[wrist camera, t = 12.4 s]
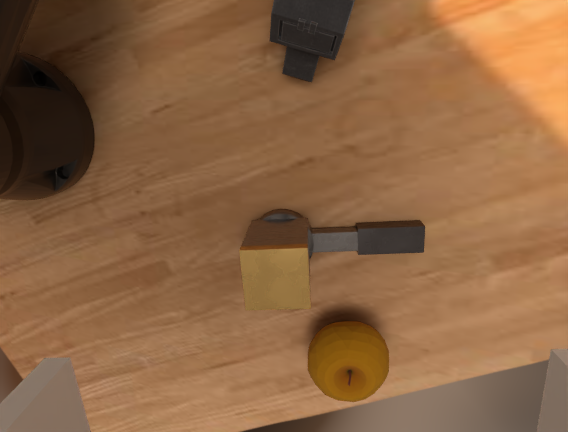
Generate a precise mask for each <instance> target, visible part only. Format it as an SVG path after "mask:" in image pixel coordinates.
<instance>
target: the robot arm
mask: <svg viewBox="0 0 568 432" xmlns="http://www.w3.org/2000/svg"><path fill="white" fill-rule="evenodd" d="M37 3H38V0H0V199H12V200H35V199H41V198H45V197H49V196H51V195H54V194H56V193H59V192H61V191H63V190H65V189H67V188H69V187H70V186H72V185H73V184H75V183H76V182H77V181H78V180H79V179H80V178H81V177H82V175H83V174H84V172H85V171H86V169H87V167H88V165H89V163H90V160H91V157H92V153H93V147H94V131H93V125H92V120H91V117H90V113H89V111H88V108H87V106H86V104H85V102H84V100H83V98H82V96H81V95H80V93H79V92H78V90H77V89H76V87H75V86H74V85H73V84H72V83H71V81H70V80H69V79H68V78H67V77H66V76H65V75H64V74H62V73H61V72H60V71H59V70H58V69H56V68H55V67H53V66H52V65H50V64H49V63H47V62H45V61H43V60H41V59H39V58H36V57H34V56H31V55H27V54H23V53H18V51H19V48H20V45H21V43H22V40H23V38H24V35H25V33H26V30H27V28H28V25H29V23H30V20H31V18H32V15H33V13H34V10H35V8H36V5H37ZM0 432H91V431H90V427H89V424H88V420H87V416H86V413H85V409H84V406H83V402H82V398H81V395H80V391H79V387H78V384H77V380H76V377H75V373H74V369H73V366H72V362H71V358H44V359H43V360H42V361H41V362H40V363H39V364H38V366H37V367H36V368H35V369H34V370H33V371H32V372H31V373H30V374H29V375H28V376H27V377H26V378H25V379H24V380H23V381H22V382H21V383H20V384H19V385H18V386H17V387H16V388H15V389H14V390H13V391H12V392H11V393H10V394H9V395H8V396H7V397H6V398H5V399H4V400H3V401H2V403H1V404H0ZM537 432H568V349H551V352H550V358H549V364H548V370H547V376H546V381H545V387H544V393H543V398H542V404H541V410H540V416H539V422H538V428H537Z"/></svg>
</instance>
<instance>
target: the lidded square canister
mask: <svg viewBox="0 0 568 432" xmlns="http://www.w3.org/2000/svg"><path fill="white" fill-rule="evenodd" d="M239 253H240V263H241V272H242V281H243V290H244V300H245V309H246V310H281V309H311V300H310V259H309V239H308V218H296V219H273V220H252V221H251V224H250V226H249V228H248V231H247V233H246V236H245V238H244V240H243V243H242V245H241V247H240V250H239Z"/></svg>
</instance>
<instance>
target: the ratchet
mask: <svg viewBox="0 0 568 432" xmlns="http://www.w3.org/2000/svg"><path fill="white" fill-rule="evenodd" d="M296 218H304V217H303V216H302V215H300V214H299V213H297V212H294V211H292V210H287V209H277V210H273V211H270V212H268V213H266V214H264V215H263V216H262V217H261V218H260V219H259V220H273V219H296ZM424 237H425V226H424V224H423V223H422V222H421V221H420V220H413V221H389V222H365V223H356V227H340V228H315V229H311V226H310V224H309V223H308V239H309V259H310V258H311V256H312V253H313V252H335V251H357V252H358V255H366V254H394V253H422V252H424Z"/></svg>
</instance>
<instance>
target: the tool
mask: <svg viewBox="0 0 568 432" xmlns="http://www.w3.org/2000/svg"><path fill="white" fill-rule="evenodd" d="M354 1H355V0H274V3H273V8H272V13H271V29H270V41H271V42H274V43H278V44H281V45H285V46H287V50H286V55H285V61H284V67H283V73H282V74H285V75H289V76H292V77H296V78H299V79H303V80H306V81H310V82H312V80H313V76H314V73H315V69H316V66H317V63H318V59H319V56H322V57H326V58H329V59H332V60H335V58H336V55H337V53H338V50H339V47H340V45H341V42H342V39H343V37H344V34H345V30H346V27H347V24H348V21H349V18H350V14H351V11H352V8H353V5H354Z"/></svg>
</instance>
